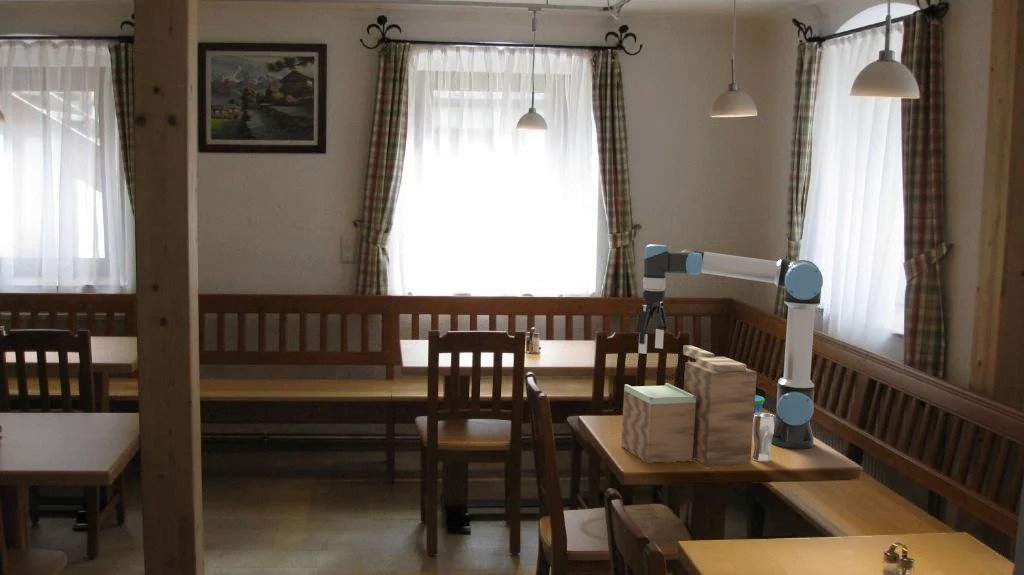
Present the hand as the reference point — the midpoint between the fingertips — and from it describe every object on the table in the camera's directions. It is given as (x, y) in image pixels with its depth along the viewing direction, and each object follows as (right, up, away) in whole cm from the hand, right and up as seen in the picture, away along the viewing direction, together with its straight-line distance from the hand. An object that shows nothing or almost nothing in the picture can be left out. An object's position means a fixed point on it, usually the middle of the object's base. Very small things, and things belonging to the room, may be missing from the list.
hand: (650, 350), depth 351 cm
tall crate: (+19, -34, -17) cm, 42 cm away
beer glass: (+34, -35, -18) cm, 52 cm away
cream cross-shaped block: (+17, -3, -13) cm, 22 cm away
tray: (0, -14, -18) cm, 23 cm away
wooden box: (0, -33, -16) cm, 37 cm away
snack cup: (+41, -29, +30) cm, 59 cm away
